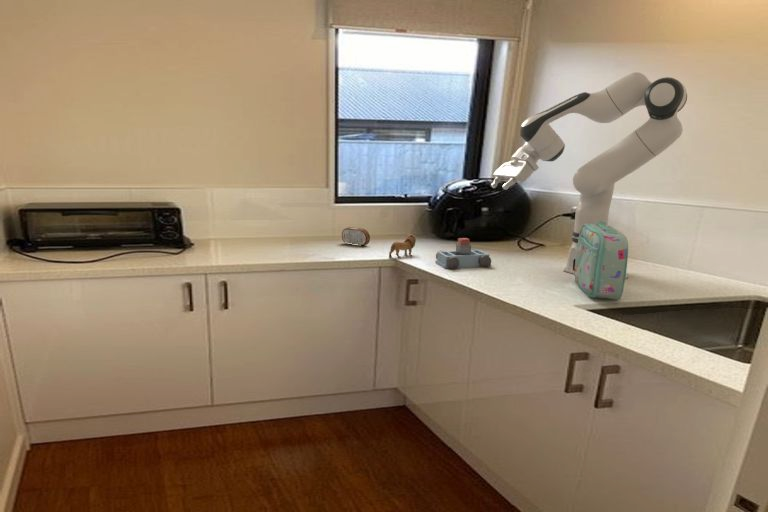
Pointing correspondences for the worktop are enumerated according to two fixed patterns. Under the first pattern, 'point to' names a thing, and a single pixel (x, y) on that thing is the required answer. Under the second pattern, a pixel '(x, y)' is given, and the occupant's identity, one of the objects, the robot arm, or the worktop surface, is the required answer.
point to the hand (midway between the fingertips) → (498, 187)
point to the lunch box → (601, 261)
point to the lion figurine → (403, 246)
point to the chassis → (462, 259)
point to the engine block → (463, 247)
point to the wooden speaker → (356, 236)
